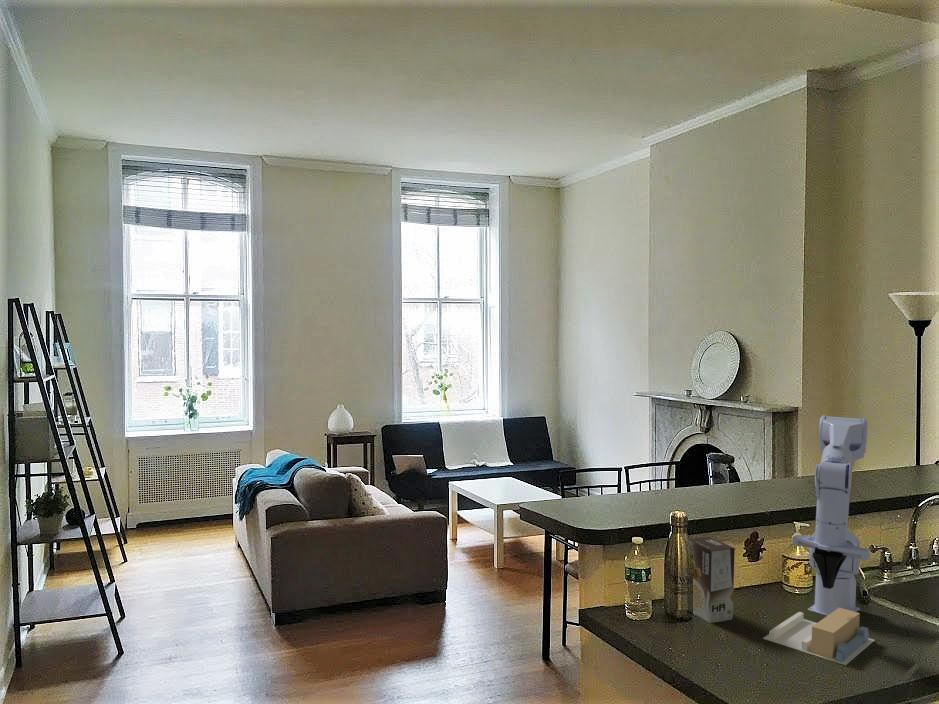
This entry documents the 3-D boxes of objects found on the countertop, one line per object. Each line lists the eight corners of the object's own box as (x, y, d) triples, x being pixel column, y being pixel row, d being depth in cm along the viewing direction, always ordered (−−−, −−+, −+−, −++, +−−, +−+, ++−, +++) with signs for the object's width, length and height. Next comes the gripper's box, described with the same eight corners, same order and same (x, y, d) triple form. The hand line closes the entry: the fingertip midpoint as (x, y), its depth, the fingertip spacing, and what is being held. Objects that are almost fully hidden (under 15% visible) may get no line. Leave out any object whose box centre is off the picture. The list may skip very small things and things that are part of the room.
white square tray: (795, 619, 168) (796, 604, 168) (874, 642, 157) (875, 627, 157) (762, 641, 157) (763, 625, 157) (845, 668, 146) (846, 651, 146)
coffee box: (734, 621, 167) (736, 548, 166) (709, 625, 164) (712, 551, 164) (707, 606, 175) (709, 535, 174) (683, 609, 173) (685, 538, 172)
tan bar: (838, 631, 161) (839, 607, 161) (858, 637, 158) (859, 613, 158) (811, 651, 151) (812, 626, 151) (832, 658, 148) (833, 633, 148)
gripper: (787, 517, 161) (784, 582, 161) (862, 532, 150) (858, 601, 151) (801, 511, 166) (798, 574, 166) (874, 525, 155) (871, 593, 156)
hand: (828, 587), depth 159 cm, fingers closed
